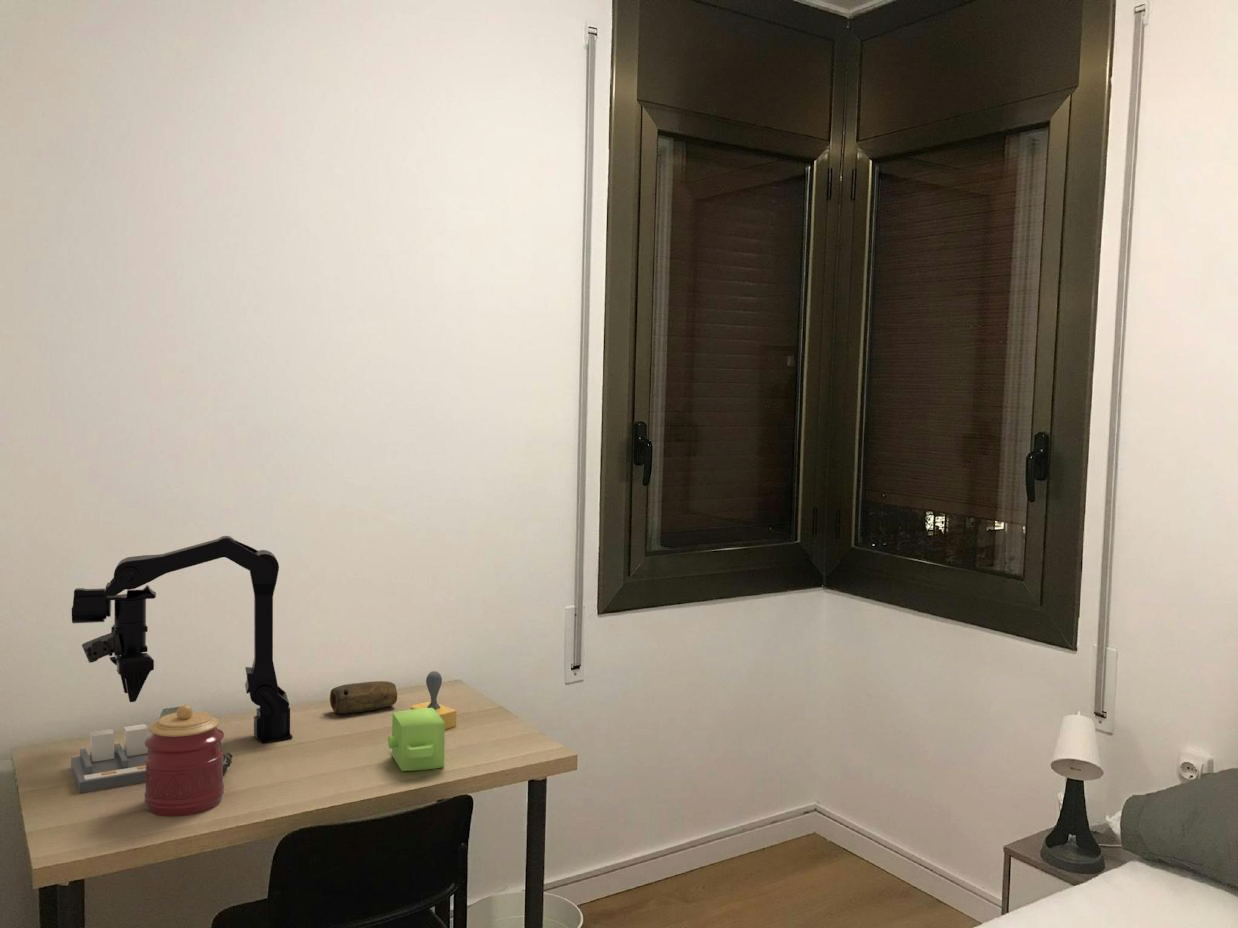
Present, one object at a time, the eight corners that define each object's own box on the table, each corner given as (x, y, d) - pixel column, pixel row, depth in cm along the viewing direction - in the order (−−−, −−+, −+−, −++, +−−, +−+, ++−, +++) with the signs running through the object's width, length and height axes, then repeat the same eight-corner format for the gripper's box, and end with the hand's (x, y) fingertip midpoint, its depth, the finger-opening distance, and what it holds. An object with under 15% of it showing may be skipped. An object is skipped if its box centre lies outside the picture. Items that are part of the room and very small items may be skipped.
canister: (231, 808, 179) (231, 709, 178) (150, 823, 172) (150, 720, 171) (215, 784, 190) (215, 690, 189) (139, 797, 183) (138, 700, 182)
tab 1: (111, 753, 198) (111, 728, 198) (114, 758, 196) (113, 732, 196) (90, 757, 196) (89, 731, 196) (91, 761, 194) (91, 736, 194)
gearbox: (379, 749, 211) (380, 704, 210) (427, 744, 214) (427, 699, 214) (396, 779, 194) (397, 731, 194) (447, 773, 198) (448, 725, 197)
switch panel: (160, 753, 205) (160, 736, 205) (174, 776, 193) (174, 758, 193) (70, 767, 196) (70, 749, 196) (79, 793, 184) (79, 774, 184)
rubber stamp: (457, 726, 227) (457, 673, 226) (435, 731, 223) (436, 677, 222) (430, 716, 234) (431, 664, 233) (409, 721, 229) (410, 669, 229)
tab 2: (145, 748, 202) (145, 723, 201) (148, 753, 199) (147, 728, 199) (124, 751, 200) (124, 726, 199) (126, 756, 197) (126, 731, 197)
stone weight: (339, 720, 229) (340, 691, 229) (327, 712, 235) (327, 683, 234) (400, 708, 239) (400, 680, 238) (386, 701, 244) (387, 674, 244)
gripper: (80, 615, 208) (80, 690, 209) (90, 633, 192) (90, 715, 193) (140, 610, 214) (139, 683, 215) (154, 628, 198) (154, 707, 199)
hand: (129, 697), depth 205 cm, fingers open, 7 cm apart
